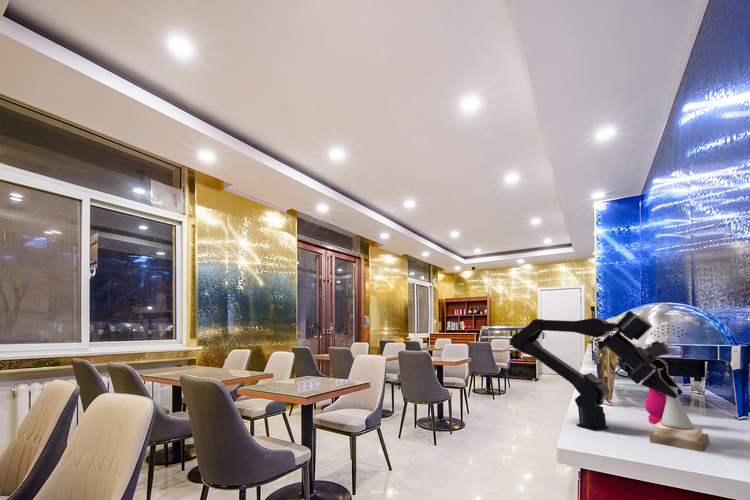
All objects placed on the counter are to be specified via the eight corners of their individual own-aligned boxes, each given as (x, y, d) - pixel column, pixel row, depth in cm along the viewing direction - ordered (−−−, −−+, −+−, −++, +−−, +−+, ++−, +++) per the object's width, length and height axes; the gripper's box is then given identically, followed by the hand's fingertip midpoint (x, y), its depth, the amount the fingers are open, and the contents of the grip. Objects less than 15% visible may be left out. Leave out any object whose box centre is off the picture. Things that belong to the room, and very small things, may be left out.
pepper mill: (670, 421, 123) (660, 357, 127) (679, 427, 116) (669, 359, 120) (643, 419, 125) (635, 356, 129) (651, 425, 118) (642, 358, 122)
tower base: (649, 442, 101) (647, 426, 102) (659, 434, 109) (656, 419, 110) (703, 451, 94) (700, 434, 94) (709, 442, 101) (706, 426, 102)
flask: (698, 426, 101) (692, 387, 103) (688, 431, 97) (682, 390, 99) (666, 421, 107) (660, 384, 109) (655, 425, 103) (650, 386, 105)
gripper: (638, 332, 103) (697, 378, 93) (654, 331, 116) (707, 372, 106) (609, 360, 107) (663, 407, 97) (627, 356, 120) (676, 398, 110)
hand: (679, 395), depth 103 cm, fingers open, 7 cm apart
